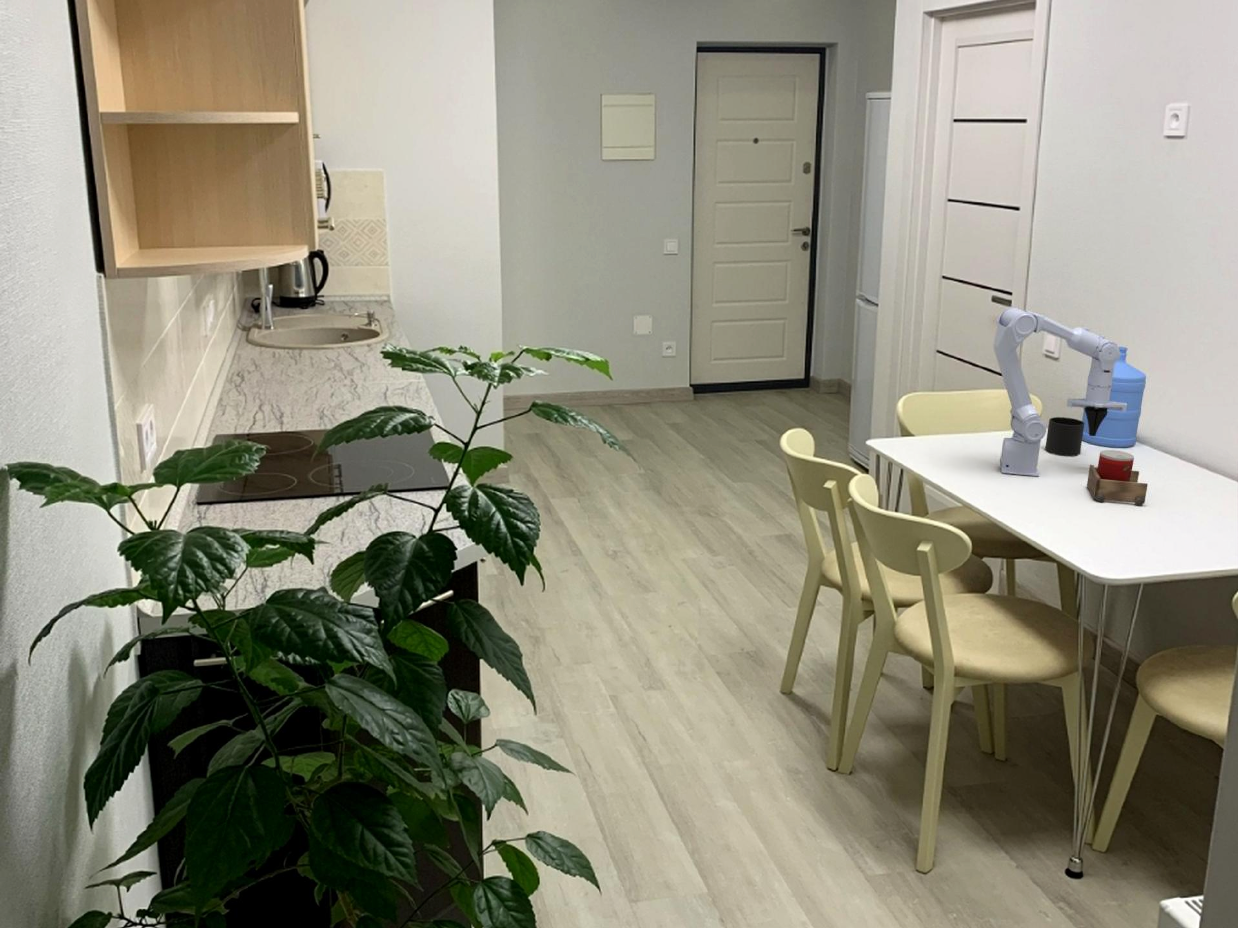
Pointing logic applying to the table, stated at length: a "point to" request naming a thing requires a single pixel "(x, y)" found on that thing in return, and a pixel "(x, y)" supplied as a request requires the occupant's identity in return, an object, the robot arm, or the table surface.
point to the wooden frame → (1116, 488)
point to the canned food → (1115, 465)
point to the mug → (1064, 436)
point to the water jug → (1118, 424)
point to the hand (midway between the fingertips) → (1092, 435)
